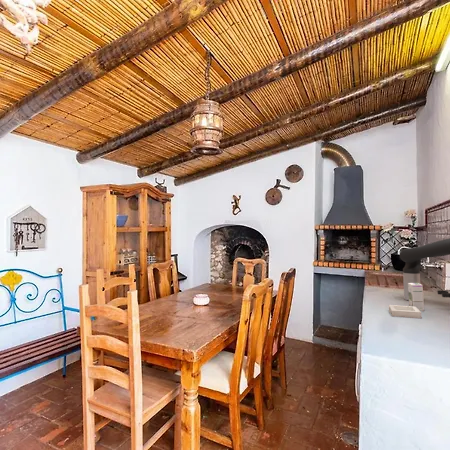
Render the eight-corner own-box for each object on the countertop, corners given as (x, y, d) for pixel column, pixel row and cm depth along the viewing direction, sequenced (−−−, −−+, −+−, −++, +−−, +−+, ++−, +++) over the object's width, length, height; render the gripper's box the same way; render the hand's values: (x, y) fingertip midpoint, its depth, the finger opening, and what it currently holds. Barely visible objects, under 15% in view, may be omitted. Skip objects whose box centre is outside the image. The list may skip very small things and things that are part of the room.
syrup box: (424, 310, 165) (423, 284, 166) (412, 310, 166) (411, 284, 167) (420, 308, 171) (418, 282, 171) (408, 308, 172) (407, 282, 172)
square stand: (388, 310, 167) (388, 305, 168) (416, 312, 163) (415, 306, 163) (392, 316, 155) (391, 310, 156) (421, 318, 151) (421, 312, 151)
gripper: (470, 285, 165) (435, 284, 171) (481, 290, 152) (443, 288, 158) (471, 299, 165) (436, 298, 171) (482, 305, 152) (444, 303, 158)
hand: (439, 293), depth 165 cm, fingers open, 8 cm apart
